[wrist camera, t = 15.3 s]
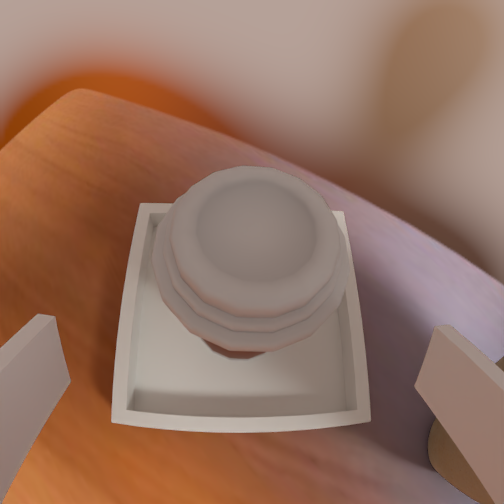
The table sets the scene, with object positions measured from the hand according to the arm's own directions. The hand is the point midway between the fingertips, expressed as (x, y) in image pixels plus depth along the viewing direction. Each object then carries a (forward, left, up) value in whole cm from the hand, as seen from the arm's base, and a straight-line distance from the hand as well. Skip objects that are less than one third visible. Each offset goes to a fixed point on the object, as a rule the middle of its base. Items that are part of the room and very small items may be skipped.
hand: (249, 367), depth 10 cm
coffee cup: (0, -6, -13) cm, 14 cm away
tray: (-1, -6, -13) cm, 15 cm away
